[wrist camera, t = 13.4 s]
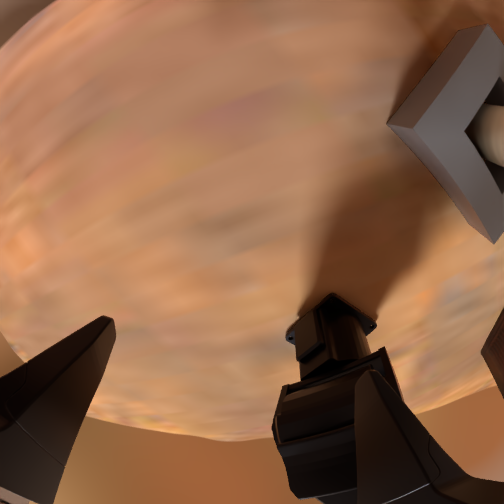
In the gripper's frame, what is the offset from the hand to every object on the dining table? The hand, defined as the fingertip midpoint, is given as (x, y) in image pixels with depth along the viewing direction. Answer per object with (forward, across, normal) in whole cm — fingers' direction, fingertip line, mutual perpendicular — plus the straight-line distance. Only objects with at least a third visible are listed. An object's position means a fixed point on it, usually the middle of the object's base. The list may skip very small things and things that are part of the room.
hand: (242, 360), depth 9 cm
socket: (+13, -15, -12) cm, 23 cm away
